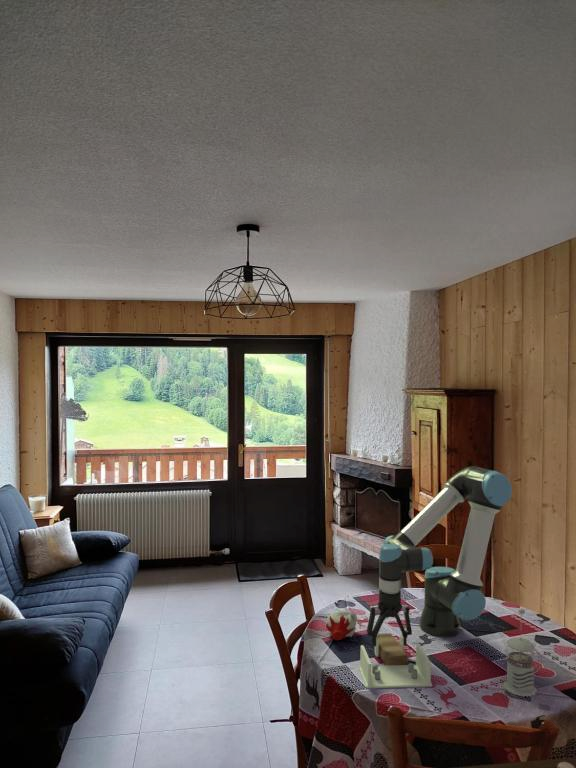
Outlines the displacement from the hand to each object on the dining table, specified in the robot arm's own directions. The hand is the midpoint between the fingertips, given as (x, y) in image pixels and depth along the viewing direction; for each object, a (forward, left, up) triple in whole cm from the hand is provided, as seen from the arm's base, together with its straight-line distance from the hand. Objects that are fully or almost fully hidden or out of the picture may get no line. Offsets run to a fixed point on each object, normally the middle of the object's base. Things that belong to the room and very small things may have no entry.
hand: (388, 654), depth 193 cm
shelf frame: (+2, +14, 0) cm, 14 cm away
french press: (-37, +22, 0) cm, 43 cm away
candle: (+15, -14, -1) cm, 20 cm away
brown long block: (0, 0, -1) cm, 1 cm away
